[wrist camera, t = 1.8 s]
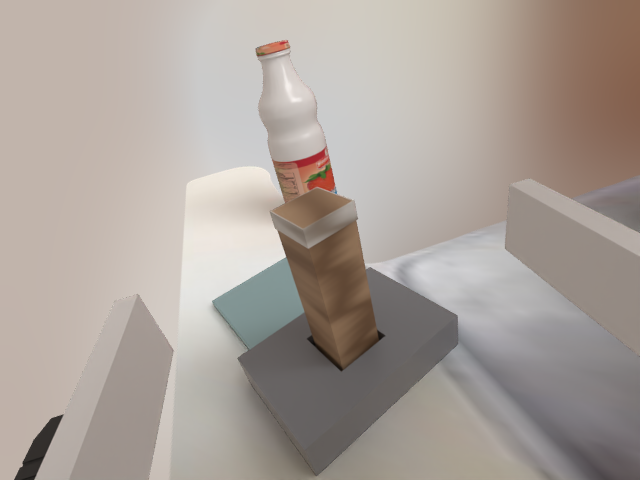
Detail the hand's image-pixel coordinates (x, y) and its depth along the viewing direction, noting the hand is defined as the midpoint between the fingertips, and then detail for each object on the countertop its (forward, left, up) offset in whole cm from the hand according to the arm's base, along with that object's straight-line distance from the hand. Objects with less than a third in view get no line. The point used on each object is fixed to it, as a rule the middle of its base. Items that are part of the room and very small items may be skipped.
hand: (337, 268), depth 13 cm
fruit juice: (-24, -43, -23) cm, 54 cm away
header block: (-7, -13, -23) cm, 27 cm away
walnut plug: (-7, -13, -22) cm, 27 cm away
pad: (-8, -28, -23) cm, 37 cm away
